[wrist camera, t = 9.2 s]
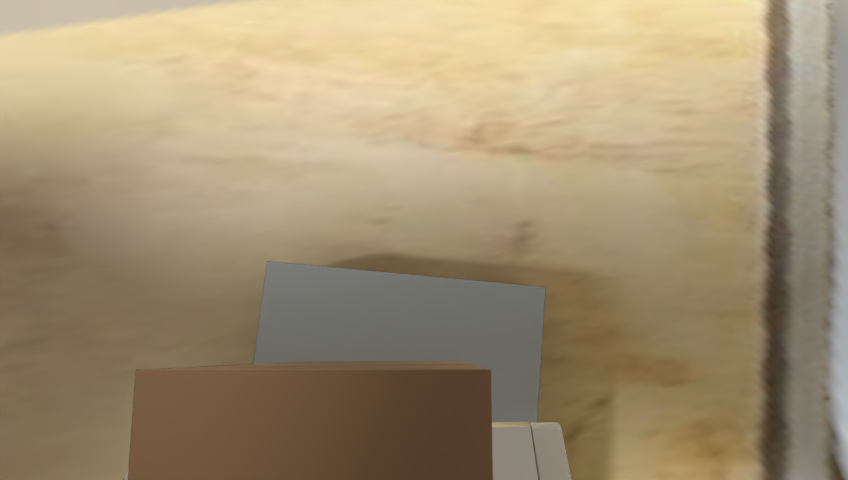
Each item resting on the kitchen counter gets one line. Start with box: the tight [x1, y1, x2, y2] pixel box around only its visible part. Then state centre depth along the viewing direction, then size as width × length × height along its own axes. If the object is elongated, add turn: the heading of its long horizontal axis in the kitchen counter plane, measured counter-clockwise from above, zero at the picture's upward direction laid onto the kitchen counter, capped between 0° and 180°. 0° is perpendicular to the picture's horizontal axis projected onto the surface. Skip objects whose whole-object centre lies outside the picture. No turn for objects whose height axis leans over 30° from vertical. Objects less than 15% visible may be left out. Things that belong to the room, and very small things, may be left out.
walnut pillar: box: [128, 361, 493, 480], centre depth 12 cm, size 4×4×10 cm
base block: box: [253, 261, 546, 423], centre depth 25 cm, size 10×10×4 cm
